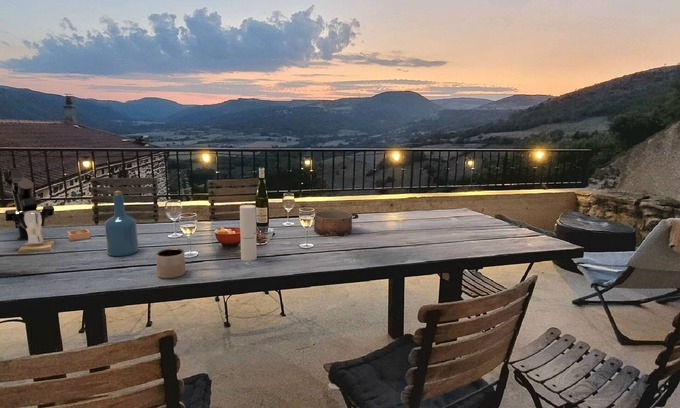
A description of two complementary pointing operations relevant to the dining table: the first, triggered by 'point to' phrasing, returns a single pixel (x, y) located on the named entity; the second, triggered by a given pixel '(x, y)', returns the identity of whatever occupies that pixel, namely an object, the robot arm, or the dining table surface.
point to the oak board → (37, 246)
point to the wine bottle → (121, 230)
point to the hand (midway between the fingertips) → (34, 227)
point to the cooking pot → (333, 223)
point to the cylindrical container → (248, 232)
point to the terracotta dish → (79, 235)
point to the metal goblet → (33, 226)
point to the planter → (170, 263)
